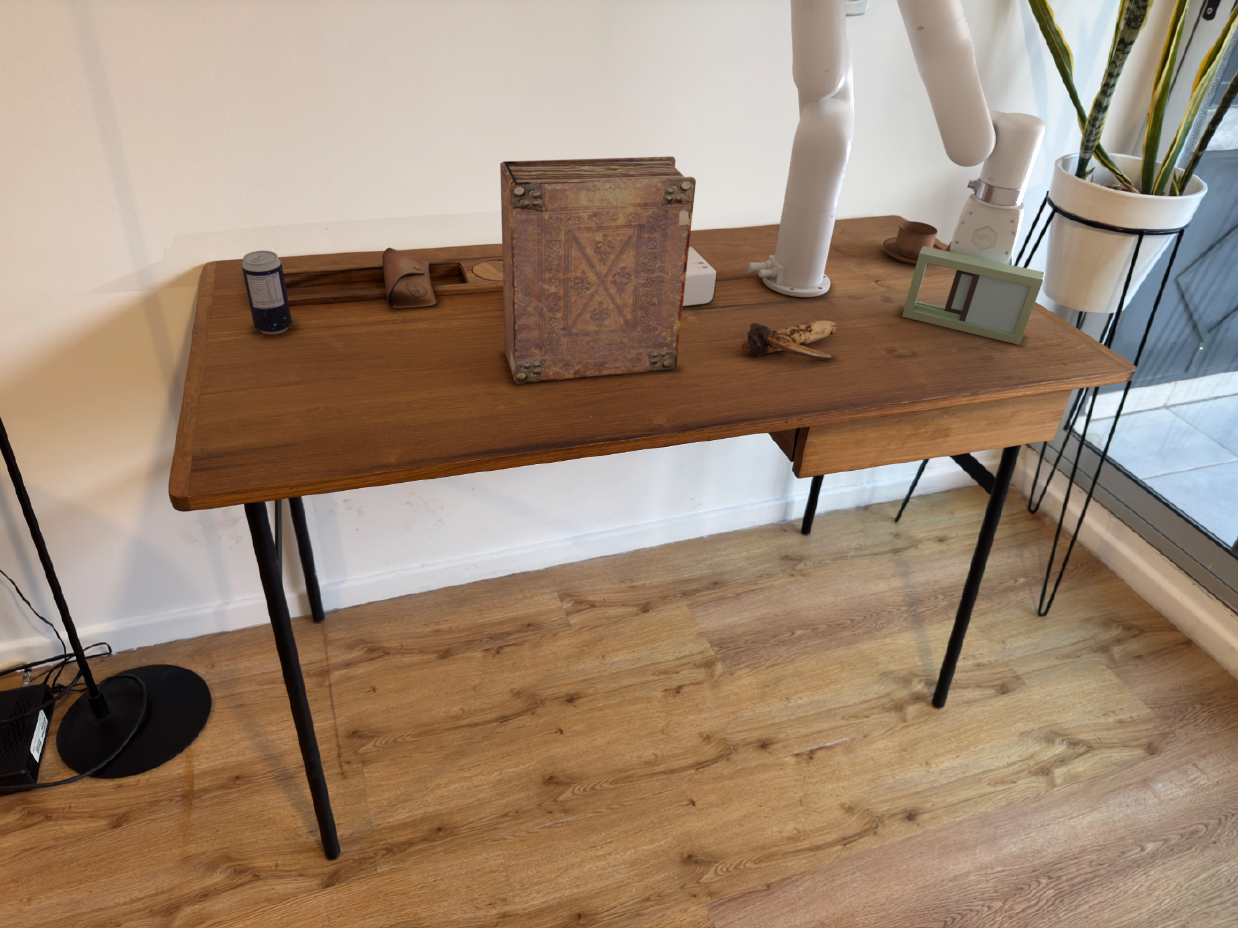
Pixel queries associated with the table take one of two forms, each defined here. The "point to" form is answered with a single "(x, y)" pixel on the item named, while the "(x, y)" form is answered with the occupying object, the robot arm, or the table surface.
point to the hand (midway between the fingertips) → (967, 292)
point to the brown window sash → (958, 292)
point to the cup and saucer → (911, 241)
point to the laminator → (699, 280)
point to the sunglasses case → (407, 280)
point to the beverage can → (266, 292)
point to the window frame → (979, 296)
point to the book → (593, 265)
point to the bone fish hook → (788, 339)
